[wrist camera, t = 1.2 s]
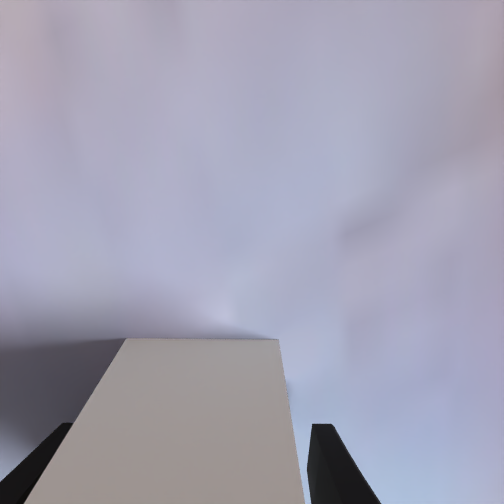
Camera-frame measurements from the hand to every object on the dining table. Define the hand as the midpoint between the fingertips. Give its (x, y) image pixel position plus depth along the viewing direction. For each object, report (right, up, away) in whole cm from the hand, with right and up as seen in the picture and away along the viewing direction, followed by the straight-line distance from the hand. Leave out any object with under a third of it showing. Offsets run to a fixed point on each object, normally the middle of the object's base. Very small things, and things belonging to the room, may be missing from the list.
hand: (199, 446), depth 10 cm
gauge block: (0, +1, +1) cm, 2 cm away
